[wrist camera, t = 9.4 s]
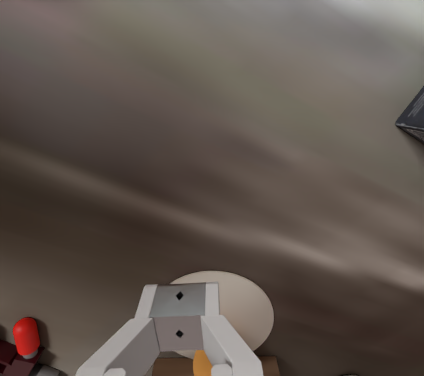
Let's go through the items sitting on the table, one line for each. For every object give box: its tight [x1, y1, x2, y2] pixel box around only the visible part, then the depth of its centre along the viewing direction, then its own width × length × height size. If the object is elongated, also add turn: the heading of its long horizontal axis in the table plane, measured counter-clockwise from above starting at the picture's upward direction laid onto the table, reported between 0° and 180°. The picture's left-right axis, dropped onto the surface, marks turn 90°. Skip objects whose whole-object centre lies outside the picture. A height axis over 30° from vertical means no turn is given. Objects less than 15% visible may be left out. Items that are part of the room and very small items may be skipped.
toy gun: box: [0, 317, 60, 376], centre depth 28 cm, size 10×12×5 cm
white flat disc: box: [170, 270, 274, 359], centre depth 28 cm, size 13×13×1 cm
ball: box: [193, 350, 213, 376], centre depth 27 cm, size 6×6×6 cm
